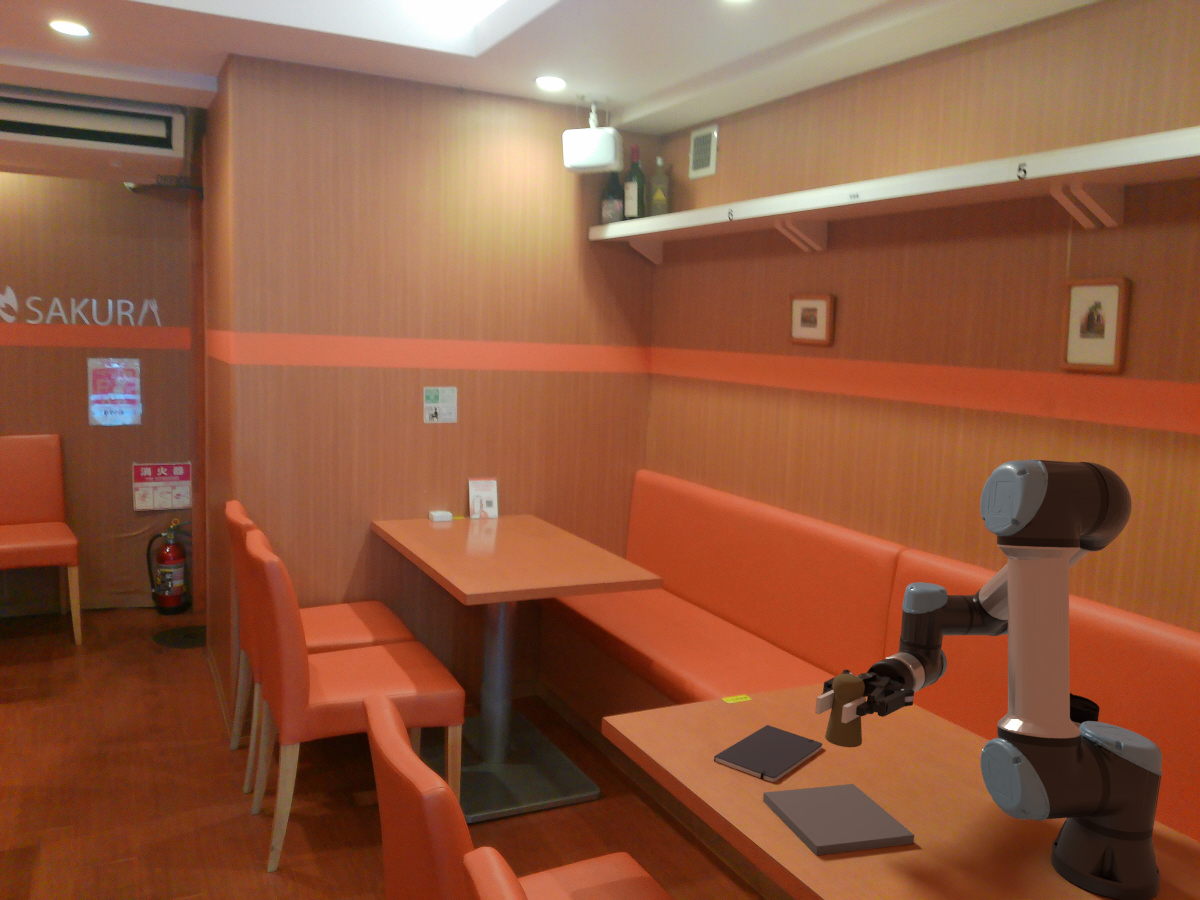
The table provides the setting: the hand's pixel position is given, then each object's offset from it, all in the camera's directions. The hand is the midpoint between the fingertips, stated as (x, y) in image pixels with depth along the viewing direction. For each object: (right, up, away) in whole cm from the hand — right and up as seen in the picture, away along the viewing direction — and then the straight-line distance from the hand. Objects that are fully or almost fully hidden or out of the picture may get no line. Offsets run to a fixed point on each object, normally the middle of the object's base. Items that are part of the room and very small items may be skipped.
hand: (831, 710), depth 154 cm
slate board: (+2, -21, +6) cm, 22 cm away
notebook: (-4, -18, +31) cm, 36 cm away
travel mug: (+47, -22, +18) cm, 55 cm away
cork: (+3, -6, +5) cm, 9 cm away
